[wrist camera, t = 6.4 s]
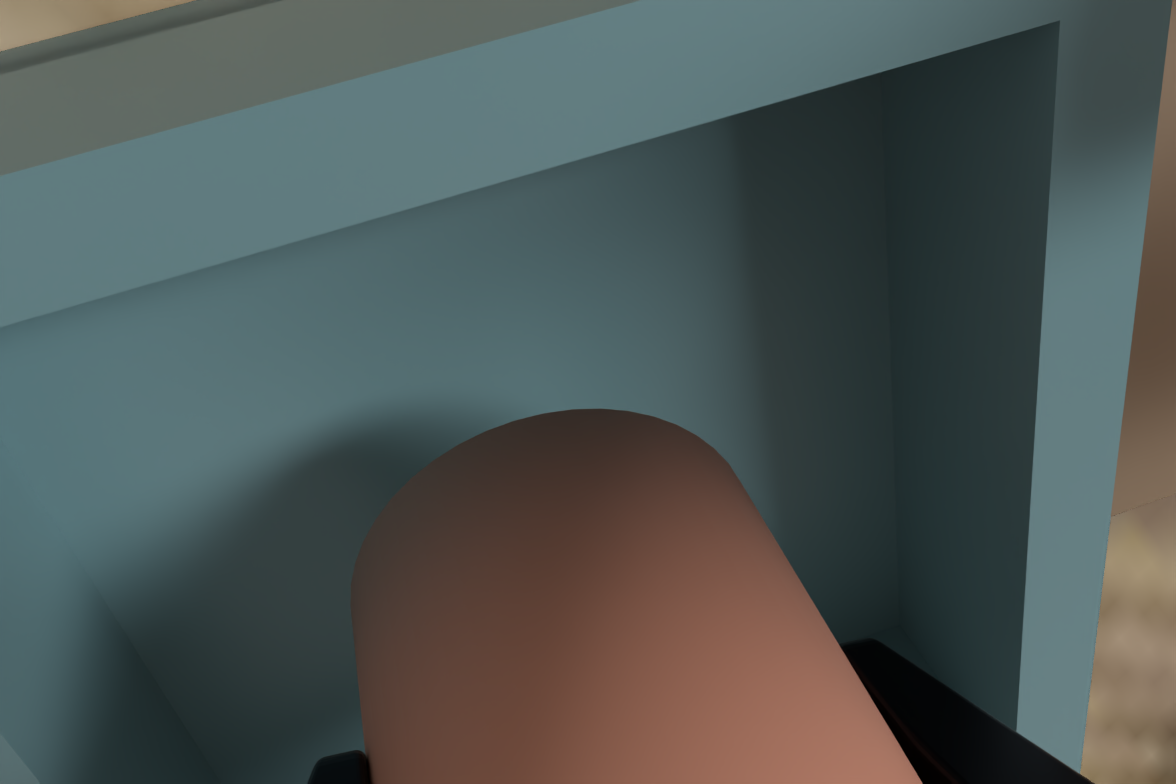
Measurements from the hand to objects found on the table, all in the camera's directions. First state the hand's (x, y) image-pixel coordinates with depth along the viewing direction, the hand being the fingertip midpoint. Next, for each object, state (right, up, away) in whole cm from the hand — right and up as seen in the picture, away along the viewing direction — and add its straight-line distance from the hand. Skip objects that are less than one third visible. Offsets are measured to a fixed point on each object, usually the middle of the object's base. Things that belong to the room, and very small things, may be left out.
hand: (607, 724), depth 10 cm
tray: (-1, +3, +4) cm, 5 cm away
